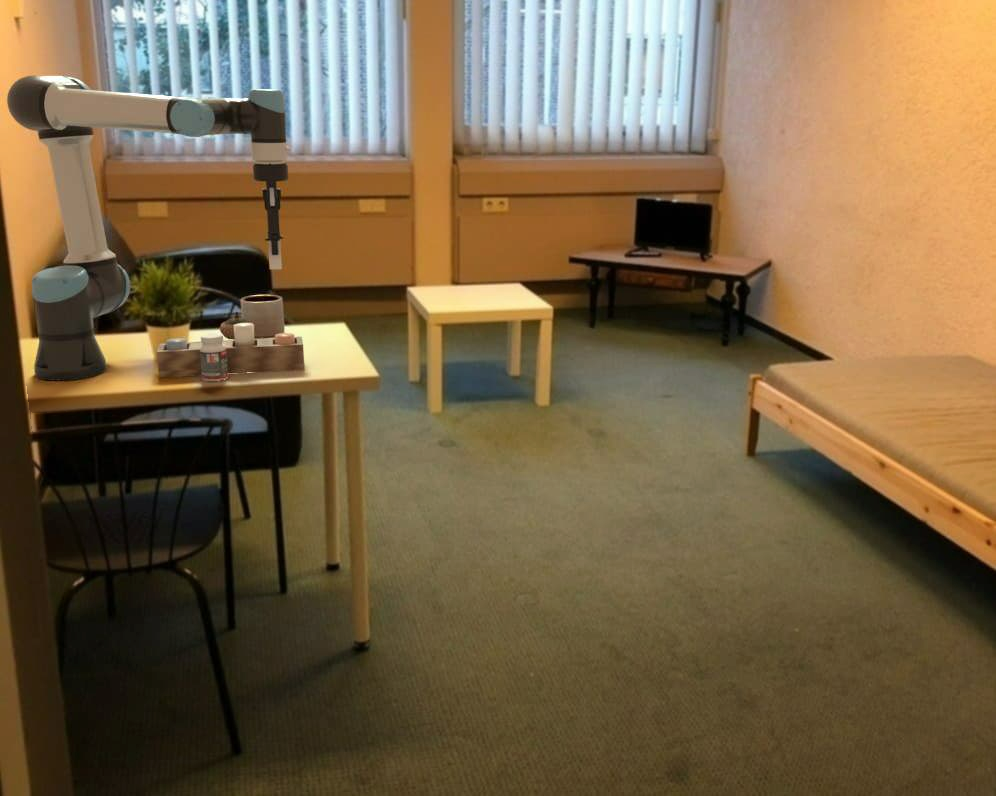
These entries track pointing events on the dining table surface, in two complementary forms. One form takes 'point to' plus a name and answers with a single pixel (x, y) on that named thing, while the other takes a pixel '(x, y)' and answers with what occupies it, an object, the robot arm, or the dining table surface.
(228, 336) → the acorn
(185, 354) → the wooden slotted rack
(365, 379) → the dining table surface
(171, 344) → the grey cylinder
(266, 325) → the planter
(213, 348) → the pill bottle
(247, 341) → the cream block
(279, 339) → the pink cylinder
